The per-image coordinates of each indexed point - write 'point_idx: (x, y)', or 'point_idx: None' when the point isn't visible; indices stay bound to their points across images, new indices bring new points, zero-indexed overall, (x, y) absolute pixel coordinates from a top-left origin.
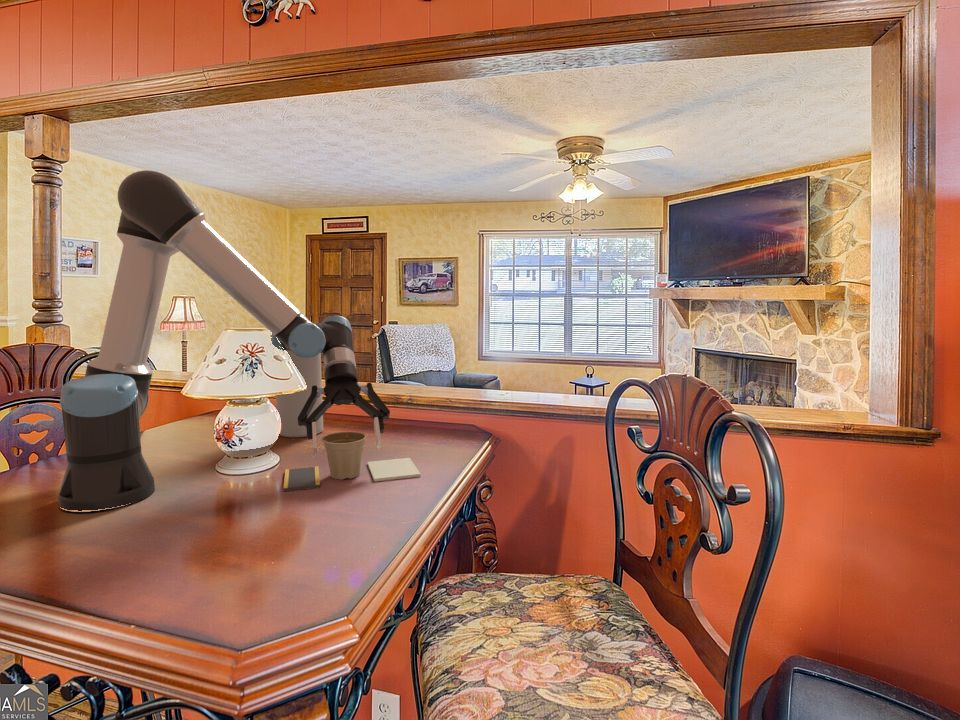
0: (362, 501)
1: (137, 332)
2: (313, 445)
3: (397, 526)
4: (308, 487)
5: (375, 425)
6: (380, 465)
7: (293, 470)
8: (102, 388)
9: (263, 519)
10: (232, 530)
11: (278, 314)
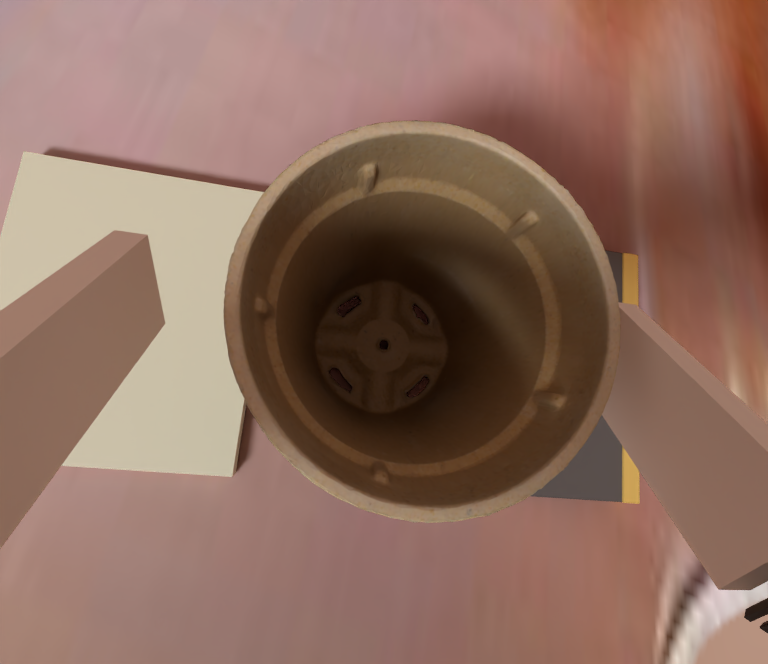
0: (375, 31)
1: None
2: (646, 317)
3: None
4: None
5: (15, 371)
6: (181, 378)
7: (604, 476)
8: None
9: (669, 60)
10: (733, 34)
11: None
